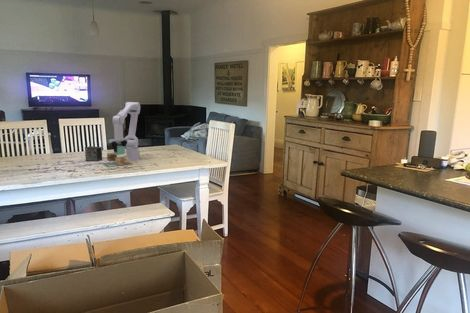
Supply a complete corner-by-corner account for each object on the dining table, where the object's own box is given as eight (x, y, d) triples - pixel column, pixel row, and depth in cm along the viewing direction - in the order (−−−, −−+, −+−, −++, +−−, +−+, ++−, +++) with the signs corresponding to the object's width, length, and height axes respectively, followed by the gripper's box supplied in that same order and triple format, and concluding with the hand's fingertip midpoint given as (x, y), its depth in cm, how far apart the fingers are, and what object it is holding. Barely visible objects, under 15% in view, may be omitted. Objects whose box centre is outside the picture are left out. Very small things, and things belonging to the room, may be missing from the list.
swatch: (114, 164, 251) (114, 164, 251) (116, 166, 247) (116, 165, 247) (107, 165, 248) (107, 165, 248) (109, 166, 244) (109, 166, 244)
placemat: (126, 161, 264) (126, 161, 264) (133, 165, 253) (133, 164, 253) (101, 164, 254) (101, 163, 254) (107, 168, 243) (107, 167, 243)
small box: (102, 160, 268) (102, 146, 266) (97, 162, 261) (96, 148, 259) (90, 159, 270) (90, 145, 268) (85, 161, 264) (84, 147, 262)
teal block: (120, 153, 257) (120, 145, 256) (124, 154, 254) (124, 146, 253) (113, 153, 253) (113, 146, 252) (118, 154, 250) (117, 147, 249)
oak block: (125, 162, 259) (125, 157, 258) (128, 164, 254) (128, 158, 253) (115, 163, 255) (115, 158, 254) (118, 165, 250) (118, 159, 249)
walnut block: (114, 160, 270) (114, 153, 269) (117, 161, 265) (116, 154, 264) (107, 160, 267) (107, 153, 266) (109, 162, 262) (109, 154, 261)
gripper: (124, 131, 258) (125, 149, 261) (106, 133, 247) (107, 152, 250) (129, 132, 254) (130, 150, 257) (111, 134, 243) (112, 153, 246)
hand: (119, 151), depth 253 cm, fingers closed on teal block, 5 cm apart
